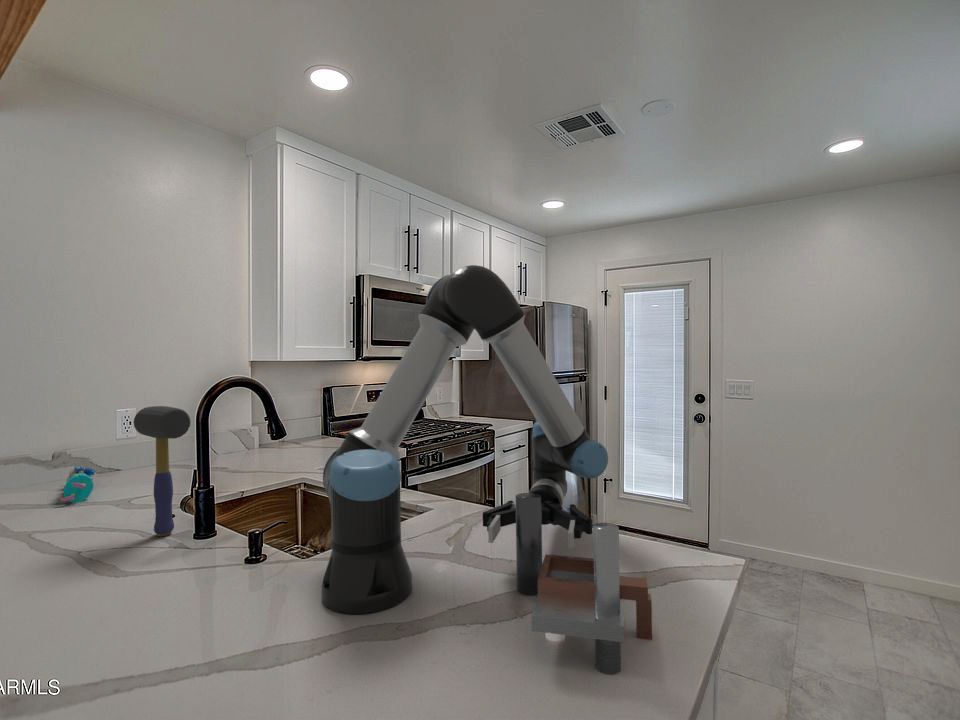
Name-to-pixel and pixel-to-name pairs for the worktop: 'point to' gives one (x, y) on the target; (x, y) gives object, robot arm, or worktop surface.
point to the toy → (78, 485)
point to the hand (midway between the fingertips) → (529, 538)
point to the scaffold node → (592, 598)
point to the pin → (528, 542)
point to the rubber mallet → (162, 456)
